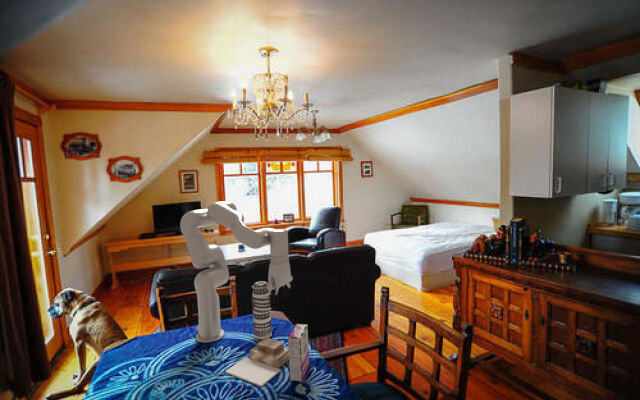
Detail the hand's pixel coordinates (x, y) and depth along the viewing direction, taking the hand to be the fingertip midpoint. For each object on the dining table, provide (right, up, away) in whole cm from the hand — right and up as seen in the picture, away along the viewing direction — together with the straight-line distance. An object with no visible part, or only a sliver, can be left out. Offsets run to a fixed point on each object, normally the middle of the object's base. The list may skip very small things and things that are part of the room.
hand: (281, 300), depth 140 cm
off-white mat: (-9, -23, -14) cm, 29 cm away
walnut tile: (-4, -18, -6) cm, 19 cm away
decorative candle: (-10, -21, +16) cm, 28 cm away
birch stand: (-4, -22, -6) cm, 23 cm away
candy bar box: (+9, -23, -16) cm, 29 cm away
